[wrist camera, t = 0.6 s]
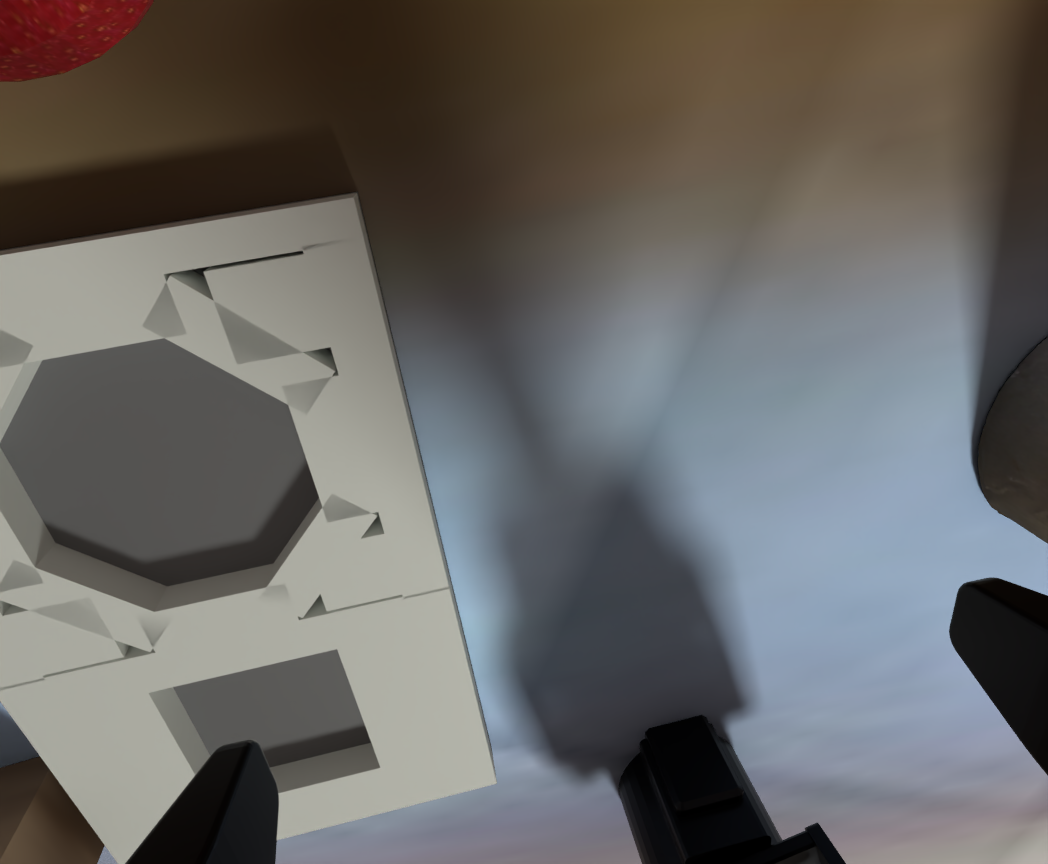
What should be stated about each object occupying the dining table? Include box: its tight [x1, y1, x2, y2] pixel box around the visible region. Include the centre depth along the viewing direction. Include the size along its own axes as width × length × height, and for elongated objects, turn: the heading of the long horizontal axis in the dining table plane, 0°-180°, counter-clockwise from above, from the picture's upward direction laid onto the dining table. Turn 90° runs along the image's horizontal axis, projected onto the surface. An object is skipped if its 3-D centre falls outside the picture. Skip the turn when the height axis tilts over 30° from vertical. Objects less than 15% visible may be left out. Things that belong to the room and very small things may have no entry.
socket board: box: [0, 191, 497, 864], centre depth 20 cm, size 22×14×2 cm, turn 8°
